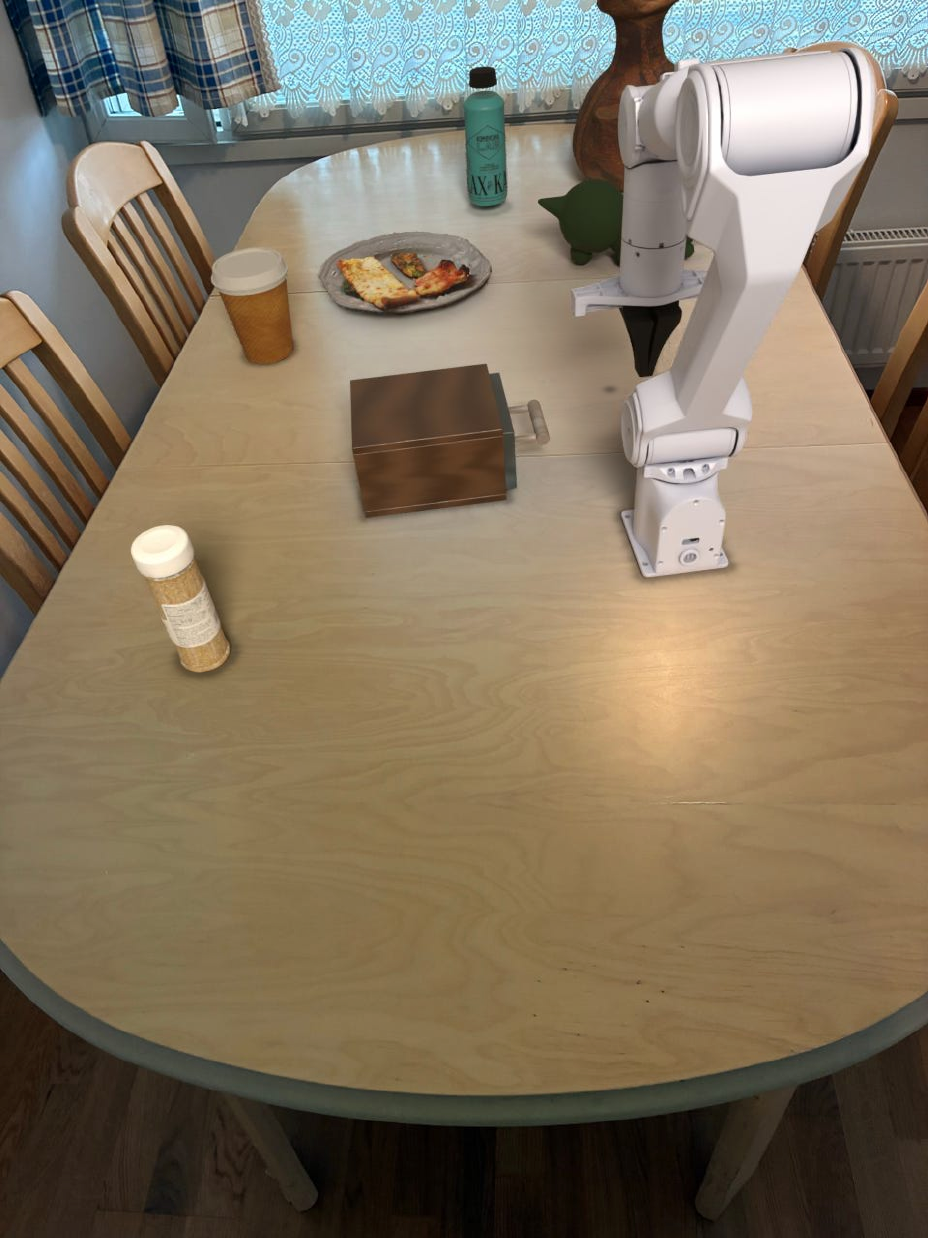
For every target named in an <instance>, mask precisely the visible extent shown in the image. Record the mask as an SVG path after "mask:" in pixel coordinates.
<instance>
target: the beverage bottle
mask: <svg viewBox="0 0 928 1238" xmlns="http://www.w3.org/2000/svg"><path fill="white" fill-rule="evenodd" d="M496 71H497V70H496V68H495V67H492V66H477V67H473V68H472V69H470V70H469V78H468V87H470V88H471V89H476V90H480V91H475V92H472V93H470V94H469V95H468V96H467V98H466V99H465V100H464V102H463V106H462V107H463V108H462V109H463V117H464V135H465V136H464V137H465V144H464V146H465V156H464V158H465V160H466V163H465V166H466V169H465V172H466V184H467V185H466V187H467V188H466V189H467V193H468V199H469V202H470V203H471V204H472V205H475V206H479V207H489V206H496V205H499V204H501V203H504V202H505V201H506V200H507V198H508V197H507V196H508V191H509V190H508V189H509V185H508V183H509V181H508V178H509V177H508V170H507V161H508V160H507V159H508V158H507V157H508V154H507V150H508V149H507V147H506V146H507V144H506V143H507V142H506V141H507V140H506V139H507V135H506V126H505V124H506V123H505V119H506V118H505V100H504V99H503V97H502V96H501V95H500V94H499V93H497V92H496V91H494V90H482V89H490V88H494V87H495V86H497V85H498V79H497V72H496Z"/></svg>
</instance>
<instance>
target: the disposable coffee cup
mask: <svg viewBox="0 0 928 1238" xmlns="http://www.w3.org/2000/svg"><path fill="white" fill-rule="evenodd" d="M288 272H289V265H288V262H286V261H285V260H284V257H283V256H282V254H281V253H280V252H279V251H278V250H275V249H273V248H268V247H259V246H258V247H257V246H256V247H246V248H241V249H238V250H237V249H236V250H235V251H231V252H228V253H226V254H223V255H222V256H220V257H219V258H217V259H216V260H215V261H214V263H213V264H212V266H211V276H210V282H211V284H212V285H213V286H214V287H215V289H216V290H217V291H218V293H219V296H220V298H221V301H222V304H223V305H224V307H225V310H226V313H227V315H228V318H229V320H230V322H231V324H232V326H233V327H232V328H233V330H234V332H235V334H236V336H237V338H238V341H239V343H240V345H241V348H242V351H243V353H244V355H245V358H246V359H247V360H248V361H249V362H251V363H253V364H259V365H266V364H268V365H269V364H274V363H277V362H280V361H282V360H284V359H286V358H288V357H289V356H290V355H291V354H292V353H293V352H294V342H293V331H292V320H291V310H290V301H289V291H288V281H287V276H288Z"/></svg>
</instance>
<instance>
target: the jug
mask: <svg viewBox="0 0 928 1238" xmlns="http://www.w3.org/2000/svg"><path fill="white" fill-rule="evenodd" d="M679 1H680V0H596V2H595V4H596V7H597V9H598V10H599V11H600V12H601V13H603V14H605V15H608V16H609V17H611V19H612V20H613V24H614V29H615V45H614V53H613V56H612V60H611V62H610V64H609V66H608V67H607V68H606V69H605V70H604V71H602V73H601V74H600V75H599V76H598V77H597V78H596V79H595V81H594V82H593V83H592V84H591V86H590V88H589V89H588V91H587V93H586V94H585V97H584V99H583V101H582V103H581V106H580V108H579V111H578V113H577V116H576V120H575V124H574V125H575V126H574V128H573V133H572V152H573V157H574V160H575V163H576V166H577V168H578V170H579V172H580V174H581V175H582V176H583V177H585V178H586V179H587V180H589V179H601V180H604V181H607V182H610V183H611V184H613V185H615V186H616V187H617V188H618V189H619V190H620V191H621V192H624V173H625V165H624V164H623V161H622V158H621V153H620V147H619V139H618V115H619V106H620V100H621V95H622V93H623V91H624V90H625V87H626V86H627V85H632V86H635V87H640V86H650V85H655V84H657V83H659V82H660V77H661V75H662V74H664V73H668V72H675V63H673V61H671V60H670V59H669V58H668V56H667V54H666V51H665V43H664V35H663V27H664V22H665V19H666V16H667V15H668V12H669V11H670V9H671V8H672V7H673V6H674V5H675V4H676V3H678V2H679Z"/></svg>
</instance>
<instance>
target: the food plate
mask: <svg viewBox="0 0 928 1238" xmlns="http://www.w3.org/2000/svg"><path fill="white" fill-rule="evenodd" d="M491 263H492V262H490V260H489V259H488V258H487V257H486V256H485V255H484V254H483V253H482V252H481V251H480V250H479V248H477V247H476V246H475V245H474V244H473V243H472V242H470V240H468V238H464V237H461V236H460V235H452V234H448V233H444V234H442V233H436V232H435V233H434V232H430V231H429V232H428V231H404V232H395V231H394V232H393V233H386V234H385V233H384V234H381V235H377V236H373V237H370V238H367V239H363V240H358V241H355V242H353V243H352V244H350V245H348V246H346V247H343V248H341V249H339V250H337V251H336V252H334V253H333V254H331V255H330V256H328V258H326V259H325V260H324V261H323V262H322V263H321V265H320V268H319V271H318V272H317V276H318V278H319V280H320V281H321V283H322V286H323V287H324V289H325V290H326V292H328V294H329V296H330V297H331V299H332V300H333V302H335V303H336V304H337V305H339V306H340V307H341V308H345V309H346V310H349V311H355V312H361V313H362V312H363V313H367V314H374V315H391V314H392V315H400V316H401V315H404V314H405V315H406V314H409V313H415V312H416V313H417V312H419V311H420V312H421V311H426V310H432V309H434V308H441V307H445V308H446V307H447V306H449V305H452V304H453V305H454V304H455V303H458V302H460V301H462V300H464V299H465V298H467V297H468V296H469V295H471V294H472V293H474V292H476V291H479V290H482V289H483V287H484V286H485V285H486V284H487V283H489V280H490V278H491V273H493V268H492V264H491Z"/></svg>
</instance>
